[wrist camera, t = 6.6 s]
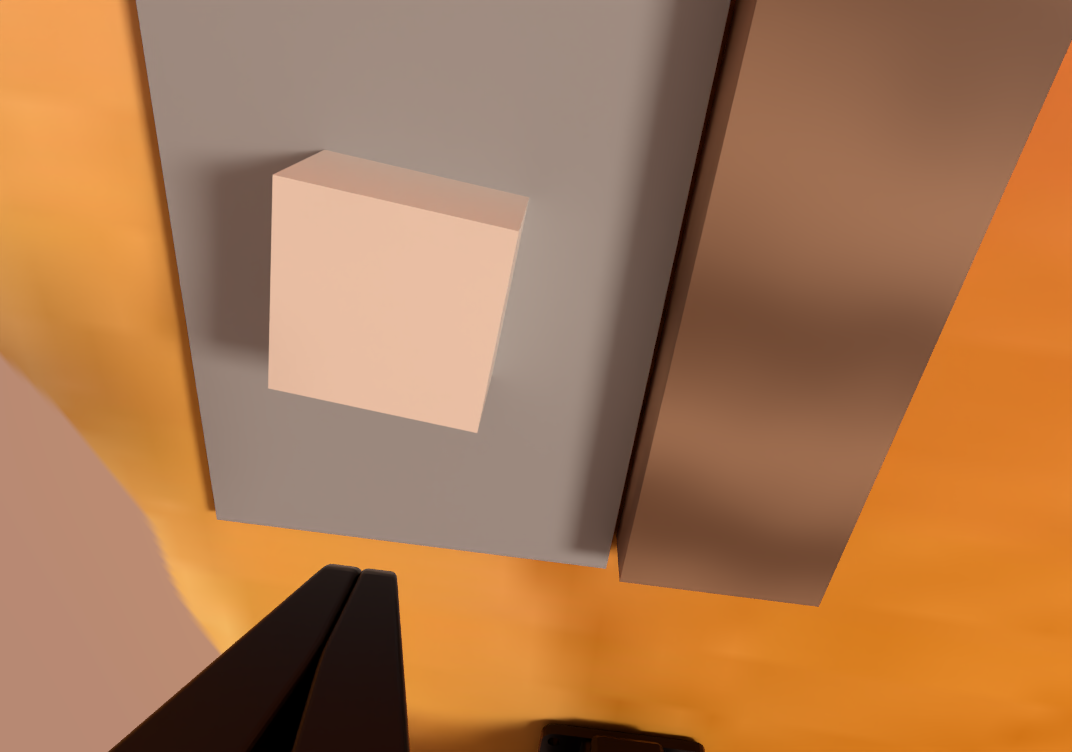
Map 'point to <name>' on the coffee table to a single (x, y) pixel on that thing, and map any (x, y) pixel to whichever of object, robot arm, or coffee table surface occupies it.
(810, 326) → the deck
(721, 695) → the coffee table surface
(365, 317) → the peach square block
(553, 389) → the mat
